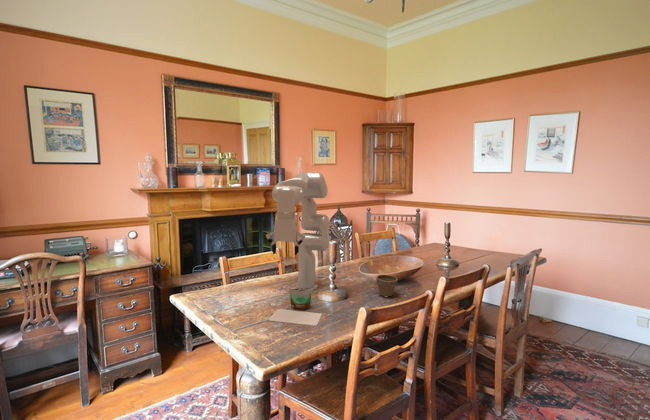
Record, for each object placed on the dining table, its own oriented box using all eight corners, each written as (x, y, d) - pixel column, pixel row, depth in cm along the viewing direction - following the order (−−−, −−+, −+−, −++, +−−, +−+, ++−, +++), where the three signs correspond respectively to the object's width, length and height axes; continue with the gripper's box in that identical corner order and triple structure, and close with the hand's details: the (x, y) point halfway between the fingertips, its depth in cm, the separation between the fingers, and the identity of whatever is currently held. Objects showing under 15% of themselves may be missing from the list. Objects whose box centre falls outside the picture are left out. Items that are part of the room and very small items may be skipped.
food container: (290, 312, 171) (290, 292, 170) (288, 307, 177) (288, 287, 175) (315, 310, 174) (315, 290, 173) (312, 305, 180) (312, 286, 179)
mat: (277, 309, 173) (277, 308, 173) (322, 314, 169) (322, 313, 169) (268, 320, 161) (268, 320, 161) (316, 326, 157) (316, 325, 157)
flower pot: (401, 297, 194) (402, 279, 192) (384, 300, 189) (384, 282, 187) (388, 290, 204) (388, 273, 203) (371, 293, 199) (372, 275, 197)
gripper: (306, 215, 161) (305, 252, 163) (268, 213, 162) (268, 251, 164) (304, 217, 153) (303, 256, 155) (264, 216, 154) (264, 255, 157)
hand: (285, 253), depth 160 cm, fingers open, 9 cm apart
